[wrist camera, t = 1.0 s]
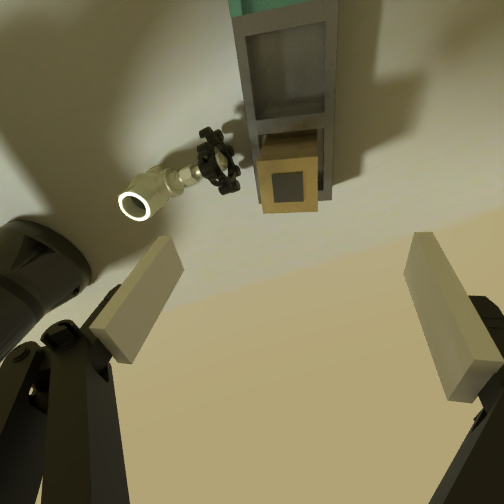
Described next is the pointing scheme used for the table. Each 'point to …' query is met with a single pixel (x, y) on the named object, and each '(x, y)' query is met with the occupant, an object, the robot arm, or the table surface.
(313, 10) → the divided tray
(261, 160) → the hollow square tube
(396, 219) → the table surface
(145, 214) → the valve
